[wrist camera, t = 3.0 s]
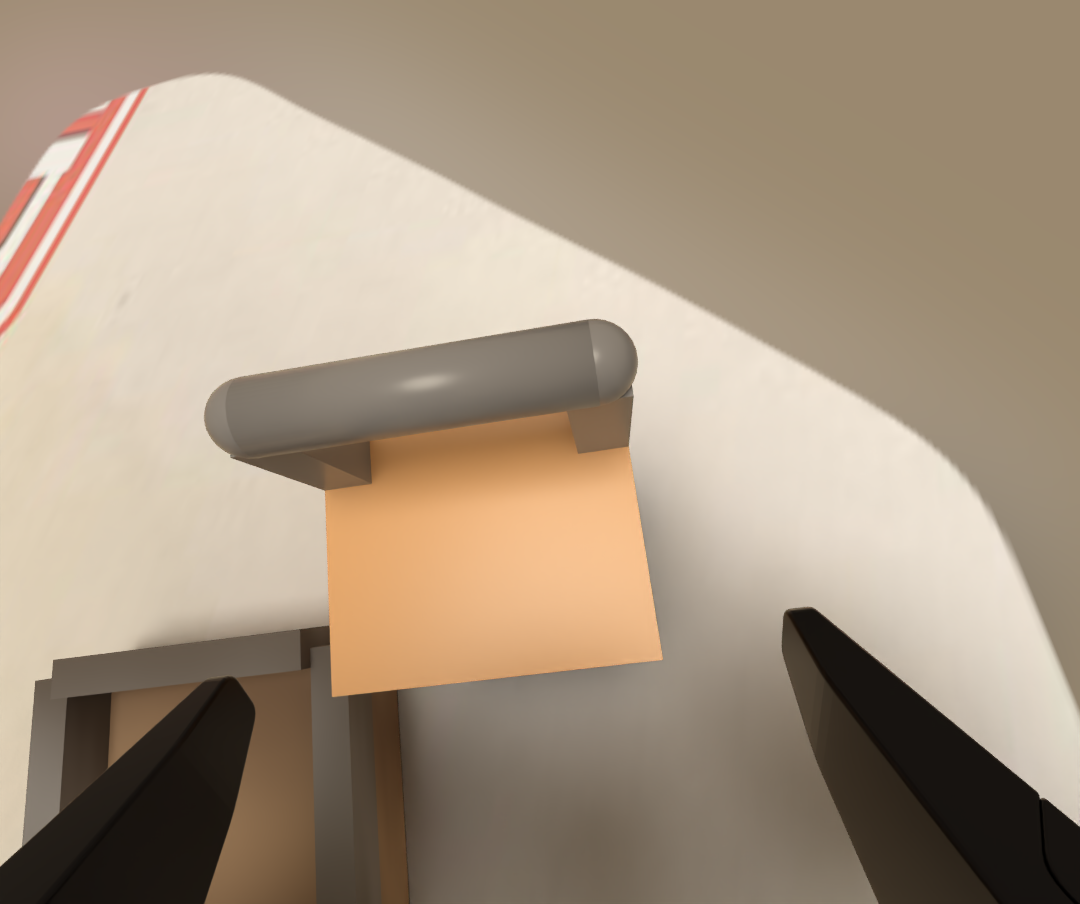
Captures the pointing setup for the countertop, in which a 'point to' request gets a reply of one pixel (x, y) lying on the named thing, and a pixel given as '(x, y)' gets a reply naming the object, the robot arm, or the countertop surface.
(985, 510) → the countertop surface
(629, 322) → the countertop surface
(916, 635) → the countertop surface
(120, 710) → the dock
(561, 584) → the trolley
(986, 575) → the countertop surface
